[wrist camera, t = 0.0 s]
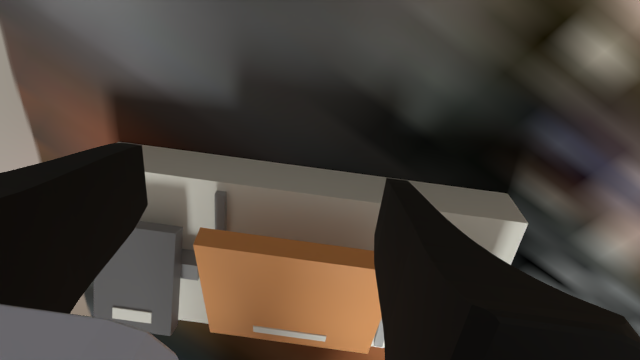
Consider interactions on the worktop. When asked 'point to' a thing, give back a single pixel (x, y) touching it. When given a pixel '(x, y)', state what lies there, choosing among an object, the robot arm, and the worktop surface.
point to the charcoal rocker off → (143, 280)
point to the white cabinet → (299, 208)
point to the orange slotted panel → (288, 290)
